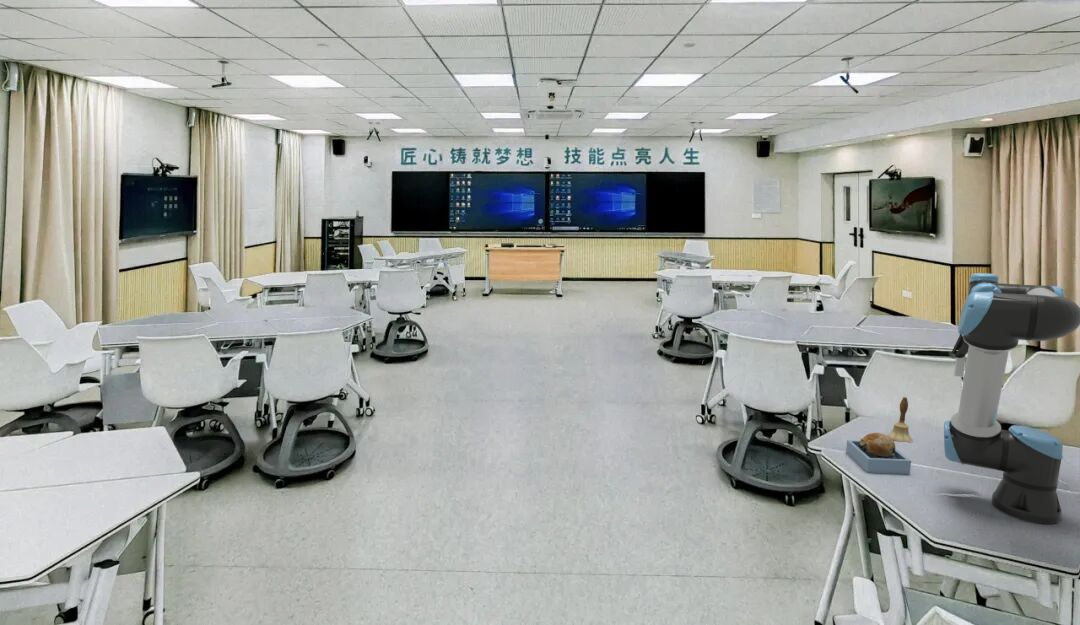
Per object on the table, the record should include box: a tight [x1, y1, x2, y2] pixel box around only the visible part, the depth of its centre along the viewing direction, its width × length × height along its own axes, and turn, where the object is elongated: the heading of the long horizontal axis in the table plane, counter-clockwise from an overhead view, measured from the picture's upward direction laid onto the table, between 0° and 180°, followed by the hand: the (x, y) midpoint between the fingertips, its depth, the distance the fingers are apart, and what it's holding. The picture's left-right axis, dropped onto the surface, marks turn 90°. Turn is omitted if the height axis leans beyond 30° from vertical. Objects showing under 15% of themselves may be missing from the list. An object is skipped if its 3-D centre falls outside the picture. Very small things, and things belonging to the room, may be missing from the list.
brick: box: [860, 448, 896, 459], centre depth 193 cm, size 10×7×4 cm
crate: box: [845, 439, 912, 475], centre depth 193 cm, size 16×13×6 cm
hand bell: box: [886, 396, 914, 443], centre depth 216 cm, size 8×8×16 cm
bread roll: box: [859, 432, 896, 457], centre depth 192 cm, size 10×10×8 cm
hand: (970, 381), depth 197 cm, fingers open, 13 cm apart
